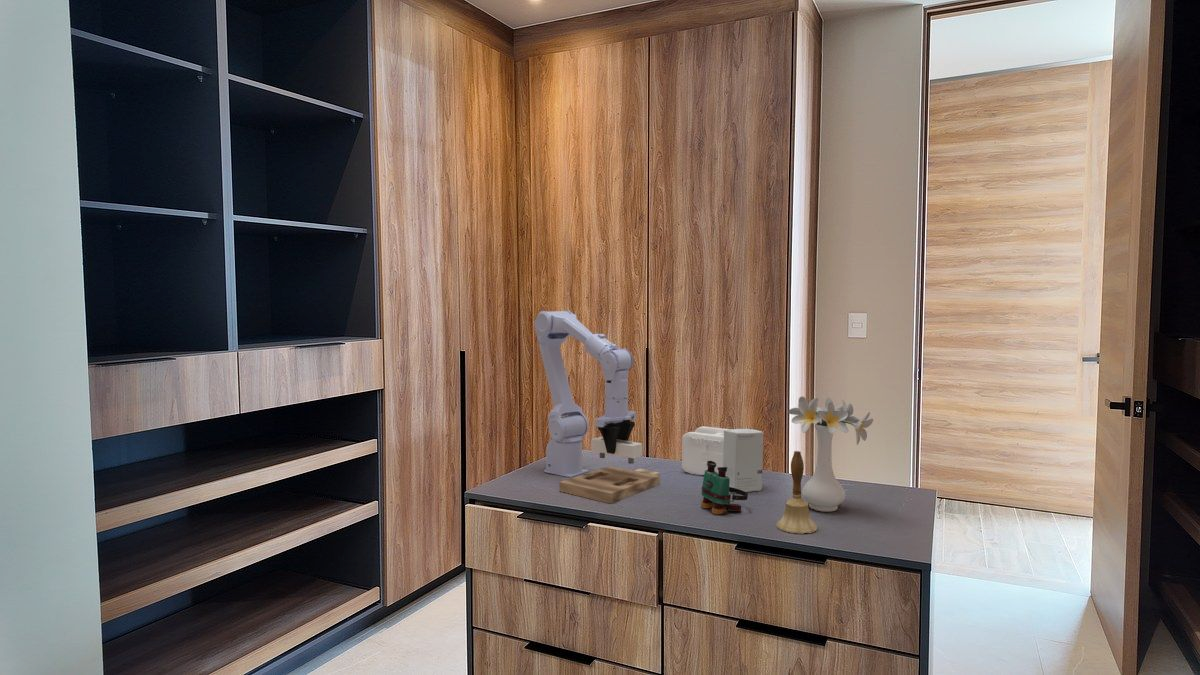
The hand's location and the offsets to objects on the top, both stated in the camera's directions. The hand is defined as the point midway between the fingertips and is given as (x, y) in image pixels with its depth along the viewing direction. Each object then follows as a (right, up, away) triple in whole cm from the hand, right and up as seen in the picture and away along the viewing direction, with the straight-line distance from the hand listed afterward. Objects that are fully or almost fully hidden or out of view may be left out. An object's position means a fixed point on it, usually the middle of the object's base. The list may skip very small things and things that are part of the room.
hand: (616, 451), depth 177 cm
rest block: (+8, -8, +8) cm, 14 cm away
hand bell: (+37, -11, -30) cm, 49 cm away
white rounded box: (+27, -8, +13) cm, 31 cm away
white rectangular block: (0, -2, 0) cm, 2 cm away
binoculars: (+24, -10, -17) cm, 31 cm away
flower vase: (+47, -10, -17) cm, 51 cm away
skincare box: (+31, -9, -2) cm, 33 cm away
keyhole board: (-1, -9, -1) cm, 9 cm away
